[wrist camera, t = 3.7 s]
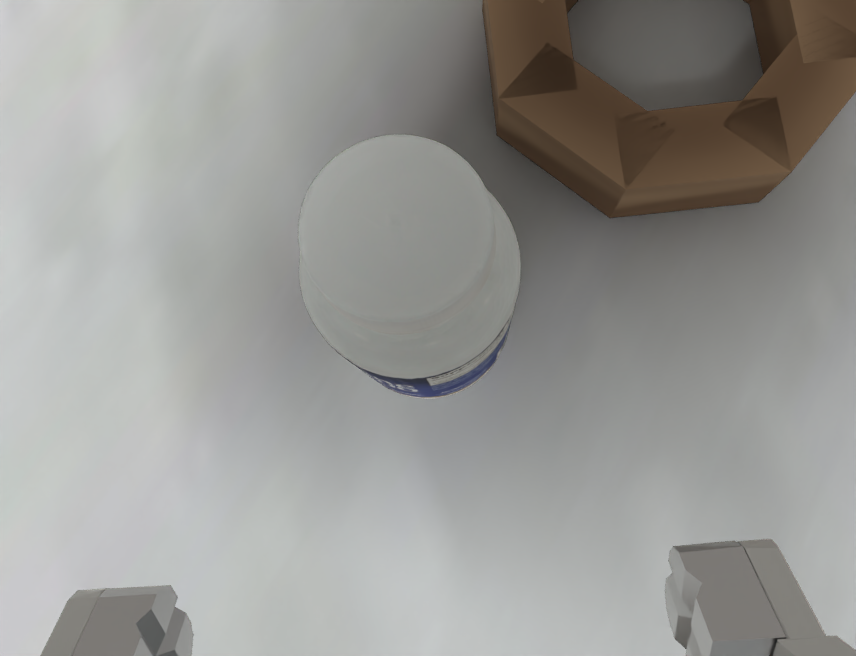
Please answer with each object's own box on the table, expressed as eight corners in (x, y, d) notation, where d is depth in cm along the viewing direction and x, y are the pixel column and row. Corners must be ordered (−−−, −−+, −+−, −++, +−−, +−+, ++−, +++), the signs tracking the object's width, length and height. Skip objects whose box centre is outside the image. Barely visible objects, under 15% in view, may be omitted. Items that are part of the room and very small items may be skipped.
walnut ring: (507, 229, 23) (510, 202, 21) (473, -71, 26) (472, -127, 23) (865, 191, 23) (912, 159, 20) (796, -113, 25) (831, -175, 23)
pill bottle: (319, 312, 23) (209, 211, 14) (439, 216, 24) (413, 51, 14) (417, 434, 22) (371, 417, 13) (541, 331, 23) (588, 240, 13)
